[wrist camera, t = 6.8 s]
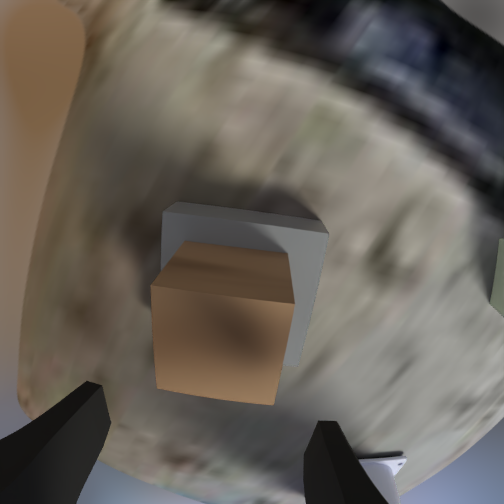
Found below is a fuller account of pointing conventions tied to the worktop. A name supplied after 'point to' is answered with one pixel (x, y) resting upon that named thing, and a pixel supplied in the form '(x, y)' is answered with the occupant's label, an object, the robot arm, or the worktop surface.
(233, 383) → the walnut cube
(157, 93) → the worktop surface
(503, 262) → the sage cube
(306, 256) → the slate tile
